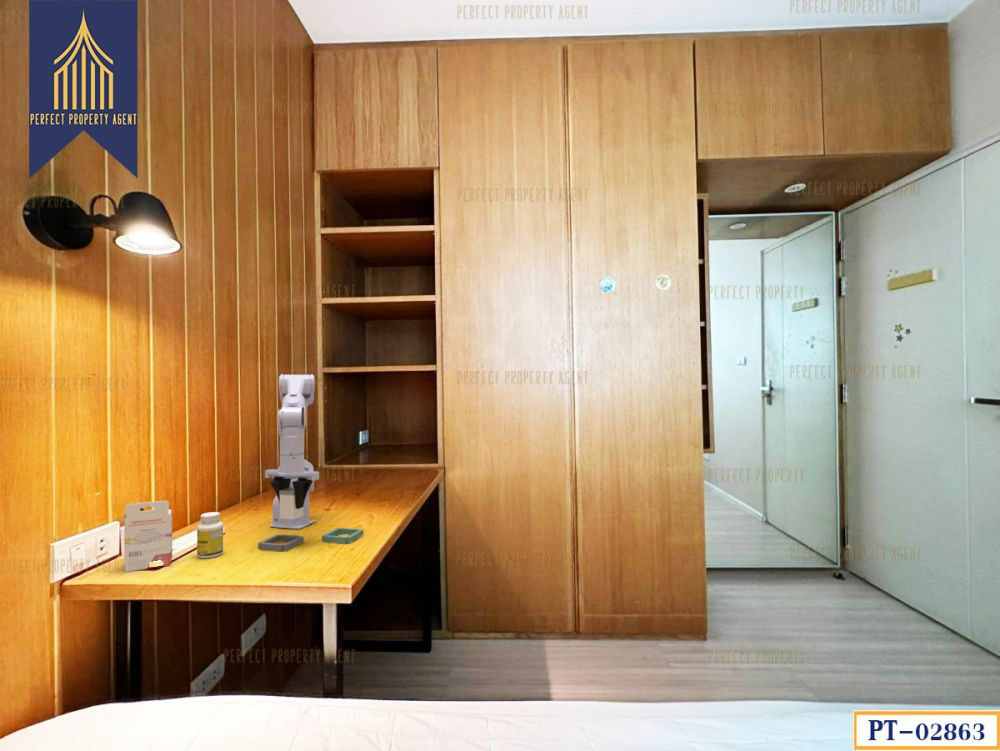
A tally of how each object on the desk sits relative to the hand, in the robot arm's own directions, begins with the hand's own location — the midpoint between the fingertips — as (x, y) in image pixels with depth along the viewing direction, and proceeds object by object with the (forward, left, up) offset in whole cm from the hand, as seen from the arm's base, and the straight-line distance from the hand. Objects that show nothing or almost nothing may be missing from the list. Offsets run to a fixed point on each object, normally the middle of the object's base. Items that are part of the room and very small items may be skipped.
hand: (291, 507), depth 129 cm
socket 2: (+10, +7, -9) cm, 16 cm away
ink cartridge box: (-22, -21, -10) cm, 31 cm away
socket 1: (-2, -2, -9) cm, 10 cm away
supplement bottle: (-14, -12, -10) cm, 20 cm away
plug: (0, 0, -2) cm, 2 cm away
